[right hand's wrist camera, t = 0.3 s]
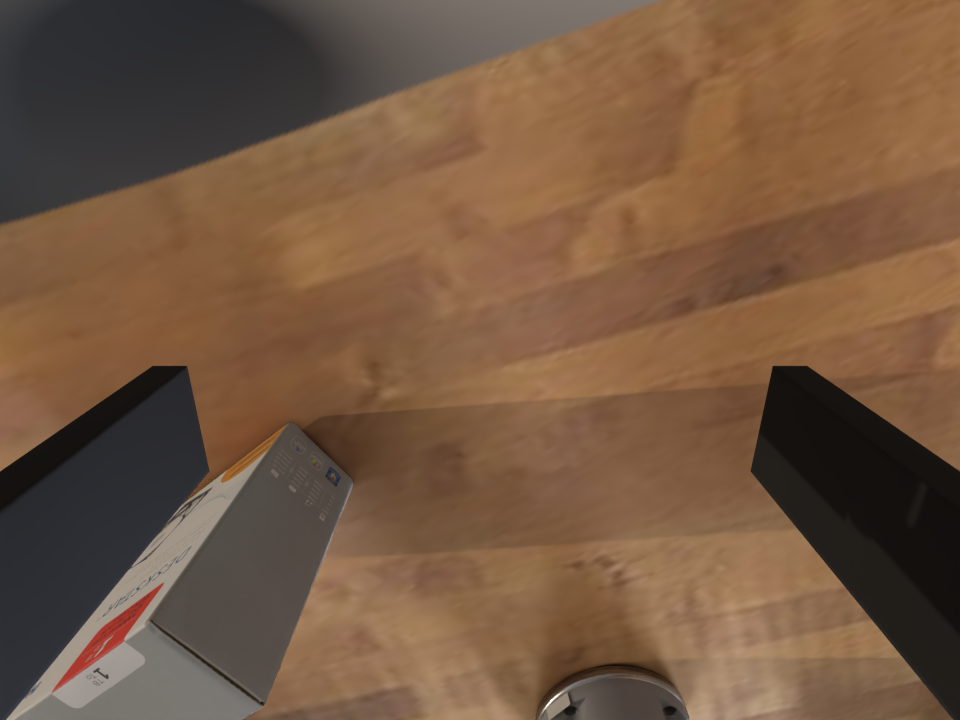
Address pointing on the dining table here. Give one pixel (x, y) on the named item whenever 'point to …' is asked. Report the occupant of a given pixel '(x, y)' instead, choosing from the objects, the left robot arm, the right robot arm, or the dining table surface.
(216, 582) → the hard drive box
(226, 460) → the dining table surface
